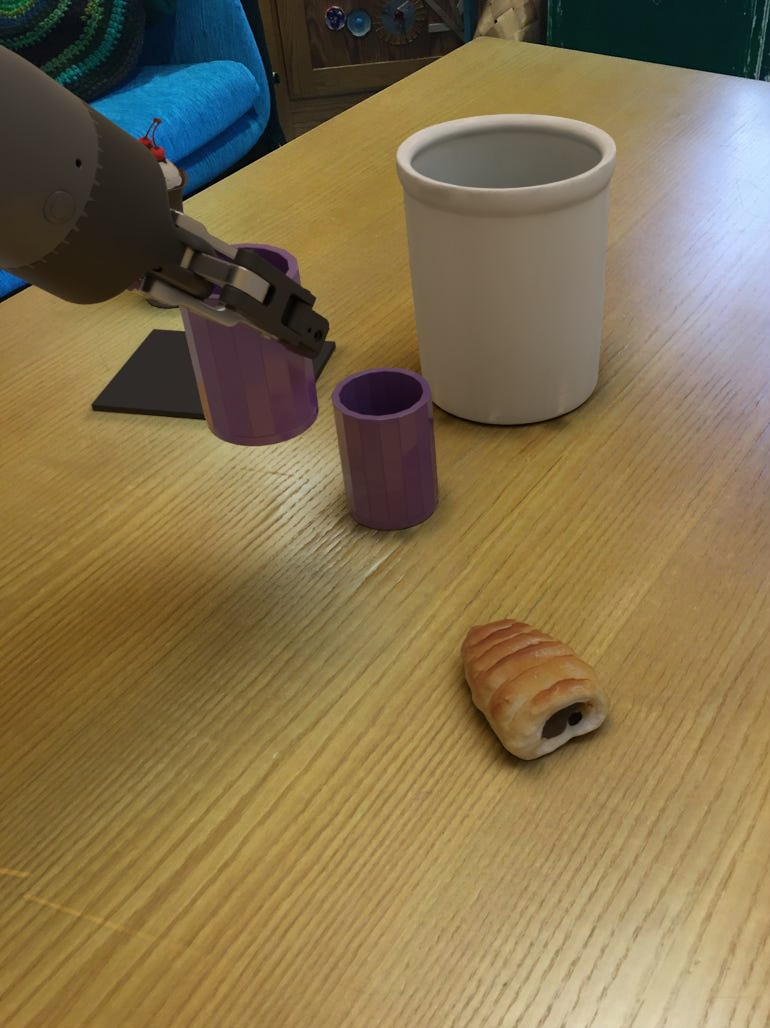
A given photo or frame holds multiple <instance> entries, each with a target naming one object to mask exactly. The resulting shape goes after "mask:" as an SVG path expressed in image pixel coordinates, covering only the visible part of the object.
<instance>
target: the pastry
mask: <svg viewBox="0 0 770 1028" xmlns="http://www.w3.org/2000/svg"><path fill="white" fill-rule="evenodd" d="M460 656H461V659H462V662H463V666H464V678H465V680H466V682H467V684H468V686H469V688H470V692H471V699H472V702H473V704H474V706H475V707H476V708H477V709H478V710H479V711H480V712H481V713H482V714H483V716H484V718H485V720H486V721H487V722H488V724H489V726H490V728H491V729H492V730H493V732H494V733H495V735H496V737H497V738H498V740H499V741H500V743H501V745H502V746H503V747H504V749H505V750H507V752H509V753H510V754H512V755H514V756H516V757H517V758H519V759H522V760H525V761H531V760H536V759H537V758H540V757H542V756H544V755H547V754H549V753H552V752H554V751H555V750H556V749H557V748H558V749H559V748H560V747H561V746H563V745H565V744H566V743H567V742H568V741H569V740H570V739H572V738H573V737H579V736H582V735H585V734H588V733H589V732H592V731H595V730H596V729H598V728H599V727H601V725H602V723H603V722H604V721H605V720H606V719H607V717H608V714H609V710H610V708H611V707H610V706H611V697H610V696H609V694H607V693H606V690H605V688H604V685H603V684H602V683H601V681H600V680H599V678H598V676H597V673H596V671H595V669H594V667H593V666H592V665H591V664H589V663H587V662H586V661H585V660H584V659H582V658H581V656H580V655H579V654H578V653H577V652H576V651H575V650H574V649H573V648H572V647H571V646H569V644H567V643H565V642H563V641H561V639H560V640H559V639H555V638H554V637H552V636H550V635H549V634H548V633H545V632H542V631H541V630H540V629H538V628H536V627H534V626H532V625H530V624H529V623H525V622H521V621H518V620H517V619H514V618H504V619H500V620H495V621H491V622H489V623H486V624H484V625H481V624H480V625H479V624H477V625H473V626H471V627H470V628H469V629H468V631H467V633H466V637H465V638H464V640H463V641H462V643H461V647H460Z"/></svg>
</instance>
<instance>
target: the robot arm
mask: <svg viewBox="0 0 770 1028" xmlns="http://www.w3.org/2000/svg"><path fill="white" fill-rule="evenodd" d="M231 245H232V244H229V243H227V242H225V241H224V240H222V239H220V238H218V237H216V236H215V235H212V234H211V233H209V231H208V229H207V227H206V226H205V225H204V224H203V223H202V222H200V221H198V220H197V219H195V218H192V217H191V216H189V215H187V214H185V213H184V214H183V213H181V212H179V211H177V210H174V209H171V208H170V206H169V199H168V191H167V185H166V180H165V177H164V174H163V171H162V168H161V166H160V164H159V162H158V161H157V159H156V157H155V156H154V155H153V153H152V152H151V151H150V150H149V149H148V148H147V147H146V146H145V145H144V144H142V143H141V142H140V141H138V139H137V138H136V137H134V136H133V135H131V134H130V133H129V132H127V131H126V130H125V129H123V128H122V127H120V126H119V125H118V124H116V123H115V122H113V121H112V120H111V119H109V118H108V117H107V116H105V115H104V114H102V113H101V112H100V111H98V110H97V109H95V108H94V107H93V106H91V105H90V104H88V103H87V102H86V101H85V100H83V99H82V98H80V97H78V96H77V95H76V94H74V93H73V92H72V91H70V90H69V89H67V88H66V87H65V86H63V85H62V84H61V83H59V82H57V80H55V79H53V78H52V77H51V76H50V75H48V74H46V72H44V71H43V70H41V69H40V68H39V67H37V66H36V65H35V64H33V63H32V62H30V61H28V60H27V59H26V58H24V57H22V56H21V55H20V54H18V53H16V52H14V51H12V50H11V49H9V48H7V47H5V46H4V45H1V44H0V270H1V271H3V272H5V273H7V274H9V275H11V276H14V277H16V278H18V279H20V280H22V281H24V282H26V283H28V284H30V285H33V286H34V287H36V288H39V290H42V291H44V292H46V293H48V294H50V295H52V296H54V297H57V298H58V299H60V300H62V301H65V302H67V303H70V304H75V305H82V306H89V305H97V304H100V303H101V304H102V303H104V302H107V301H110V300H112V299H114V298H116V297H118V296H119V295H121V294H122V293H124V292H125V291H128V292H130V293H131V292H132V293H134V294H136V295H138V296H141V297H144V298H146V299H147V298H148V299H154V300H156V301H158V302H160V303H163V304H168V305H179V306H181V307H183V308H185V309H187V310H189V311H191V312H193V313H195V314H197V315H200V316H202V317H204V318H206V319H208V320H210V321H212V322H214V323H216V324H218V325H223V326H228V327H232V326H234V325H236V324H237V323H240V324H242V325H244V326H246V327H248V328H250V329H252V330H254V331H256V332H258V333H260V334H261V335H260V336H261V337H263V338H265V339H267V340H270V338H271V339H273V340H275V341H277V342H278V343H280V344H282V345H284V346H285V347H287V348H289V349H291V350H292V351H294V352H296V353H297V354H299V355H301V356H303V357H306V358H309V359H312V360H313V359H316V358H317V357H318V355H319V354H320V352H321V349H322V347H323V344H324V342H325V341H326V339H327V336H328V334H329V332H330V329H331V328H330V322H329V320H328V318H326V317H324V316H323V315H321V314H319V313H318V312H316V311H315V310H313V308H314V306H315V303H316V301H317V297H316V296H315V295H314V294H313V293H311V292H312V291H310V290H309V289H307V288H305V287H303V286H302V285H301V286H300V285H299V284H298V283H296V282H295V281H293V280H292V279H291V278H289V277H288V276H287V275H285V274H284V273H283V272H281V271H280V270H279V269H277V268H276V267H275V266H273V265H272V264H271V263H269V262H268V261H266V260H265V259H264V258H262V257H261V256H259V255H258V252H257V251H255V250H253V249H250V248H247V249H244V248H241V247H239V248H238V249H236V248H235V247H233V246H231ZM216 254H217V255H218V256H220V257H222V258H224V259H226V260H227V261H228V262H226V261H223V260H220V259H218V257H217V255H216ZM216 284H217V285H219V286H221V287H222V291H221V294H220V296H219V299H218V301H219V303H218V304H217V305H216V306H215V307H211V306H209V305H207V304H205V303H203V302H204V300H205V299H207V298H208V297H210V296H211V294H212V293H213V290H214V288H215V285H216ZM199 300H200V301H199ZM201 301H202V302H201Z"/></svg>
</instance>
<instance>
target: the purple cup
mask: <svg viewBox="0 0 770 1028" xmlns="http://www.w3.org/2000/svg"><path fill="white" fill-rule="evenodd" d="M230 245H231V246H233V247H235V248H236V249H238V248H239V247H241V248H244V249H247V248H250V249H253V250H255V251H257V252H258V255H259V256H261V257H262V258H264V259H265V260H266V261H268V262H269V263H271V264H272V265H273V266H275V267H276V268H277V269H279V270H280V271H281V272H283V273H284V274H285V275H287V276H288V277H289V278H291V279H292V280H293V281H295V282H296V283H298V284H299V285H300V286H302V282H301V275H300V269H299V263H298V259H297V257H295V256H294V255H293V254H291V252H289V251H288V250H286V249H285V248H281V247H277V246H274V245H271V244H265V243H250V242H245V243H232V244H230ZM216 255H217V254H216ZM217 257H218V259H220V260H223V261H226V262H228V261H227V260H226V259H224V258H222V257H220V256H218V255H217ZM221 291H222V287H221V286H219V285H217V284H216V285H215V288H214V290H213V293H212V294H211V296H210V297H208V298H207V299H205V300H204V302H203V303H205V304H207V305H209V306H211V307H215V306H216V305H217V304H218V303H219V301H218V299H219V296H220V294H221ZM199 301H200V300H199ZM201 302H202V301H201ZM178 308H179V311H180V315H181V321H182V324H183V329H184V331H185V334H186V338H187V342H188V347H189V351H190V355H191V360H192V364H193V368H194V373H195V377H196V381H197V386H198V390H199V394H200V399H201V403H202V408H203V412H204V416H205V419H204V420H205V421H206V426H207V428H208V430H209V431H210V433H211V434H212V435H213V436H215V438H217V439H219V440H221V441H222V442H225V443H228V444H232V445H235V446H240V447H265V446H266V447H267V446H272V445H277V444H281V443H284V442H287V441H290V440H292V439H295V438H296V437H298V436H301V435H303V434H304V433H305V432H306V431H307V430H309V429H310V428H311V427H312V426H313V425H314V424H315V422H316V420H317V419H318V416H319V412H320V407H319V399H318V391H317V386H316V385H317V384H316V382H315V378H314V371H313V364H312V359H309V358H306V357H303V356H301V355H299V354H297V353H296V352H294V351H292V350H291V349H289V348H287V347H285V346H284V345H282V344H280V343H278V342H277V341H275V340H273V339H271V338H270V340H267V339H265V338H263V337H261V336H260V335H261V334H260V333H258V332H256V331H254V330H252V329H250V328H248V327H246V326H244V325H242V324H240V323H237V324H236V325H234V326H232V327H228V326H223V325H218V324H216V323H214V322H212V321H210V320H208V319H206V318H204V317H202V316H200V315H197V314H195V313H193V312H191V311H189V310H187V309H185V308H183V307H181V306H179V307H178Z"/></svg>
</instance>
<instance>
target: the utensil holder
mask: <svg viewBox="0 0 770 1028" xmlns="http://www.w3.org/2000/svg"><path fill="white" fill-rule="evenodd" d="M395 166H396V167H395V168H396V174H397V178H398V180H399V183H400V185H401V186H402V194H403V204H404V206H403V207H404V215H405V225H406V226H405V227H406V238H407V239H406V240H407V248H408V259H409V270H410V278H411V279H410V281H411V290H412V299H413V309H414V318H415V319H414V320H415V330H416V338H417V344H418V345H417V346H418V355H419V362H420V370H421V376H422V377H423V378H424V379H425V380H427V381H428V383H429V386H430V389H431V394H432V403H434V404H435V405H436V406H438V407H439V408H440V409H441V410H443V411H445V412H447V413H449V414H450V415H451V414H452V415H453V416H456V417H458V418H461V419H465V420H469V421H472V422H476V423H481V424H487V425H489V424H490V425H524V424H525V425H526V424H532V423H538V422H543V421H548V420H550V419H554V418H556V417H559V416H562V415H564V414H567V413H569V412H572V411H574V410H575V409H577V408H578V407H580V406H581V405H583V404H584V403H585V402H586V401H587V400H588V399H589V398H590V397H591V396H592V395H593V393H594V391H595V389H596V387H597V384H598V378H599V372H600V371H599V370H600V369H599V368H600V357H601V347H602V346H601V344H602V335H603V324H604V306H605V293H606V292H605V290H606V275H607V257H608V256H607V255H608V244H609V243H608V242H609V226H610V207H611V206H610V205H611V183H612V178H613V176H614V175H615V171H616V168H617V167H616V166H617V144H616V142H615V141H614V139H613V138H612V136H611V135H610V134H608V133H607V132H606V131H604V130H603V129H601V128H599V127H597V126H595V125H593V124H590V123H588V122H584V121H580V120H577V119H573V118H568V117H562V116H554V115H545V114H532V113H531V114H530V113H500V114H499V113H497V114H483V115H475V116H468V117H463V118H457V119H453V120H448V121H444V122H440V123H436V124H433V125H429V126H428V127H424V128H422V129H420V130H418V131H416V132H414V133H413V134H411V135H410V136H408V137H407V138H406V139H405V140H404V141H403V142H402V143H400V145H399V147H398V148H397V151H396V154H395Z"/></svg>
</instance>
